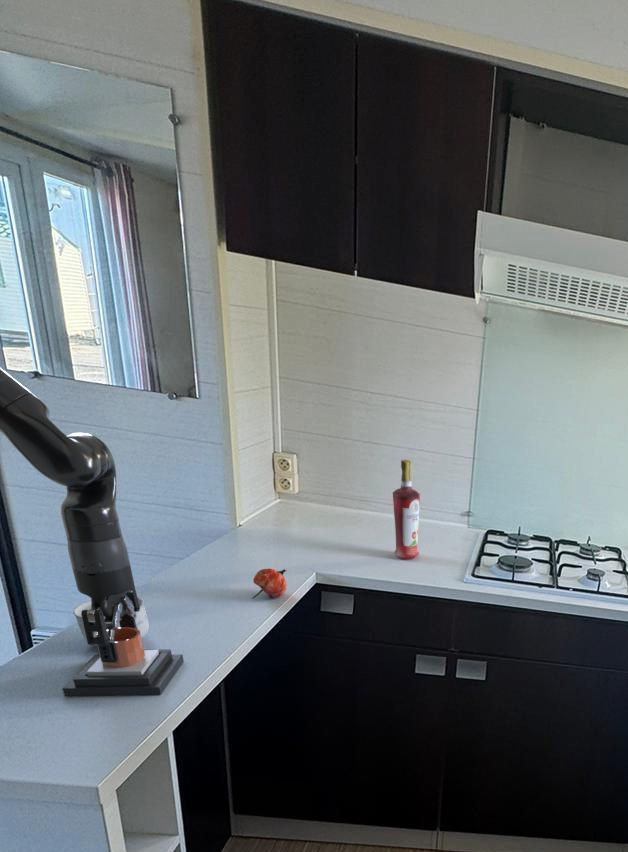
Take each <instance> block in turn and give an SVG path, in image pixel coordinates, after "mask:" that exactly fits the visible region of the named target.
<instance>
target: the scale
mask: <svg viewBox="0 0 628 852" xmlns="http://www.w3.org/2000/svg"><path fill="white" fill-rule="evenodd" d="M144 650H158V651H159V656H158V657H157V659H156V660H155V661H154V662H153V664H152V665H151V666H150V668H149V669H148V670H147V671H146V673H145V674H144V675H134V676H87V671H88V670H89V669H90V668H91V667H92V665H93V664H94V663H95V662H96V661H97V660H98V659H99V658H100V655H99V652H98V653H97V654H94V655H93V656H92V657H91V658H90V659H89V660H88V661H87V662H86V663H85V665H84V666H83V667H81V669H79V671H78V672H77V673H75V675H74V676H72V678H71V679H70V680H69V681H68V682H67V683H66V684H65V685H64V686H63V687H62V692H63V695H64V697H65V696H67V697H115V696H116V695H117V697H119V696H118V695H125V696H161V695H162V694H163V692H164V691H165V690H166V689H167V687H168V686H169V684H170V683H171V681H172V679H174V677H175V675H176V674H177V673H178V671H179V669H180V668H181V667H182V665H183V664H184V655H183V654H172V649H169V648H168V649H162V648H161V649H160V648H159V649H156V648H155V649H154V648H153V649H150V648H149V649H148V648H147V649H145V648H144Z"/></svg>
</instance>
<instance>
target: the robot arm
mask: <svg viewBox="0 0 628 852" xmlns="http://www.w3.org/2000/svg"><path fill="white" fill-rule="evenodd" d="M50 416H51V413H50V409H49V407H48V406H47V405H46V404H45V403H44V402H43V401H42V400H40V398H38V397H37V396H36V395H35V394H34V393H32V392H31V391H30V390H29V389H28V388H27V387H25V386H24V385H23V384H21V383H20V382H19V381H17V380H16V379H15V378H13V376H11V375H10V374H9V373H8V372H7V371H5V370H4V369H2V368H1V367H0V433H1V434H3V435H4V436H5V438H6V439H7V440H8V442H10V444H11V445H12V446H13V447H14V448H15V449H16V450H17V451H18V452H19V453H20V454H21V456H22V457H23V458H24V459H25V460H26V461H27V462H28V463H29V464H30V465H31V466H32V467H33V468H34V469H35V470H36V471H37V472H39V473H40V474H41V475H42V476H44V477H45V478H46V479H49V480H50V481H52V482H53V483H55V484H58V485H60V486H64V487H66V496H65V498H64V500H63V501H62V503H61V505H60V515H61V520H62V524H63V529H64V532H65V536H66V541H67V553H68V556H69V560H70V565H71V569H72V572H73V576H74V581H75V584H76V588H77V590H78V592H79V593H80V594H82V595H85V596H87V597H89V598H90V600H91V609H90V610H82V612H81V615H82V619H83V624H84V628H85V633H86V638H87V641H86V642H87V644H88V645H89V646H92V645H93V646H95V645H98V647H97V649H98V648H99V651H98V653H99V652H100V656H101V660H102V661H103V662H105V663H114V662H117V660H118V659H119V657H118V653H117V649H116V645H115V641H114V635H115V630H117V629H118V628H119V623H120V627H131V628H136V629H137V626H136V622H135V619H136V617H137V615H136V612H139V610H140V606H139V602H138V598H137V597H138V594H137V591H136V586H135V581H134V576H133V572H132V567H131V566H132V565H131V561H130V557H129V552H128V548H127V544H126V542H125V539H124V537H123V534H122V529H121V523H120V519H119V515H118V511H117V504H116V503H117V469H116V463H115V459H114V456H113V454H112V452H111V450H110V449H109V447H108V445H107V444H106V443H105V442H104V441H103V440H102V439H100V438H98V437H96V436H95V435H94V434H93V435H92V434H90V433H86V432H73V433H69V434H65V433H64V432H63V431H62V430H61V429H60V428H58V427H57V425H55V423H53V421H51V420H50ZM129 600H131V601H132V603H133V605H132V604H131V602H130V601H129ZM119 619H120V620H119ZM105 622H112V623H110V624H105ZM106 629H108V635H107V630H106ZM93 632H94V636H93Z"/></svg>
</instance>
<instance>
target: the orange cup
mask: <svg viewBox="0 0 628 852" xmlns="http://www.w3.org/2000/svg"><path fill="white" fill-rule="evenodd" d="M107 635H108V630H107ZM114 641H115V645H116V649H117V653H118V657H119V659H118V660H117V662H114V663H105V662H103V661H102V660H101V662H102V663H103V664H105V665H107V666H109V667H114V668H121V667H128V666H132V665H135V664H137V663H139V662H140V661H142V659H143V658H144V657H145V652H144V649H145V648H144V643H143V637H142V638H141V633H140V631H139V630H138V629H136V628H131V627H120V628H118V629H117V630H115V635H114ZM96 647H97V651H98V653H99V655H100V652H99V648H98V645H97V646H96ZM100 659H101V656H100Z"/></svg>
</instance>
